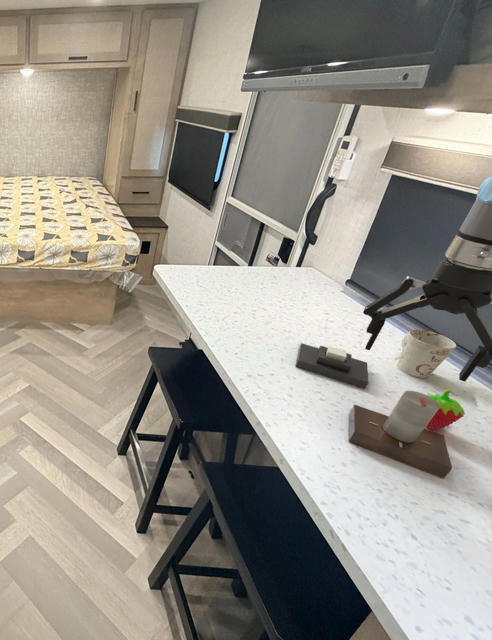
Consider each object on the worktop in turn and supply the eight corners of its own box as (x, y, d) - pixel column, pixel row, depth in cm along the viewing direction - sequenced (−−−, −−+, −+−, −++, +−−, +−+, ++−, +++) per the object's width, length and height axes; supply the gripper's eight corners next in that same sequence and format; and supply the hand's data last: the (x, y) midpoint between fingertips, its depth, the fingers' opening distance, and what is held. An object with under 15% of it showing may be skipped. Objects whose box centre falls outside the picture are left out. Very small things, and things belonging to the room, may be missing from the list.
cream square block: (343, 356, 102) (346, 350, 101) (343, 362, 100) (346, 357, 99) (326, 351, 104) (328, 345, 103) (325, 357, 102) (328, 352, 101)
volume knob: (382, 420, 83) (403, 385, 79) (414, 431, 80) (438, 396, 76) (383, 434, 80) (405, 399, 75) (417, 447, 77) (442, 411, 73)
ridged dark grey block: (363, 369, 103) (370, 356, 101) (364, 389, 96) (371, 376, 94) (298, 349, 111) (303, 337, 109) (295, 366, 104) (300, 354, 102)
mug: (401, 377, 100) (421, 344, 95) (375, 349, 111) (392, 319, 106) (443, 383, 98) (465, 350, 93) (412, 354, 108) (431, 323, 104)
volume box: (435, 445, 81) (444, 434, 80) (443, 478, 74) (453, 467, 73) (348, 414, 89) (354, 403, 87) (348, 441, 82) (354, 430, 81)
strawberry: (397, 412, 89) (419, 377, 85) (439, 421, 87) (465, 385, 82) (410, 430, 85) (434, 394, 80) (455, 440, 82) (483, 404, 77)
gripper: (376, 250, 74) (331, 343, 84) (598, 294, 59) (509, 402, 68) (381, 240, 79) (337, 329, 89) (588, 279, 63) (506, 382, 73)
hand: (412, 361), depth 79 cm, fingers open, 13 cm apart
